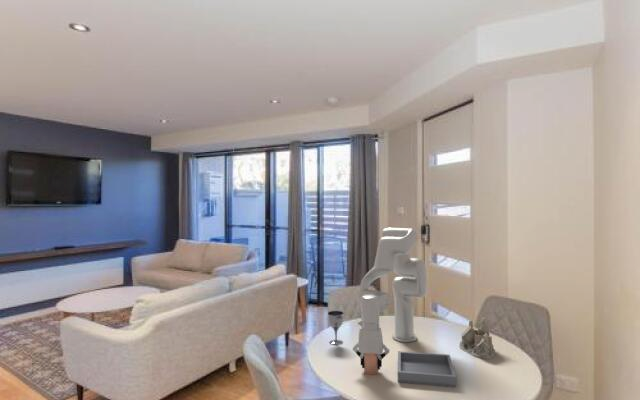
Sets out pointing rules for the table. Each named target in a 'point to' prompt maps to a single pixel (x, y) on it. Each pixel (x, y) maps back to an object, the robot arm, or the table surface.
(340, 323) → the wine glass
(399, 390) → the table surface
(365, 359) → the cup
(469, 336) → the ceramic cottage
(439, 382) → the tray
